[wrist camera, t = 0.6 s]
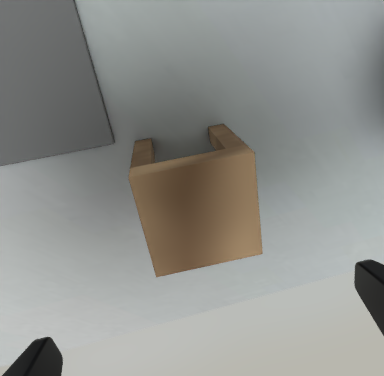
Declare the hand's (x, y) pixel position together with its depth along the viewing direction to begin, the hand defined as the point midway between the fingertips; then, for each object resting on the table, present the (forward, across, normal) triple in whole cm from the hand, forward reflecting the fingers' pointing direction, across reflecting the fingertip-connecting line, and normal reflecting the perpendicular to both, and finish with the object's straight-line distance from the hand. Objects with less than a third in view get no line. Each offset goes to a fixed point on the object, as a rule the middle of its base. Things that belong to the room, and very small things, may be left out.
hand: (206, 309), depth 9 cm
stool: (+12, 0, +1) cm, 12 cm away
